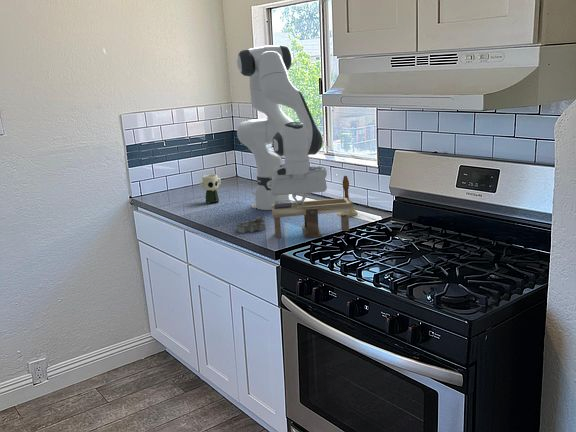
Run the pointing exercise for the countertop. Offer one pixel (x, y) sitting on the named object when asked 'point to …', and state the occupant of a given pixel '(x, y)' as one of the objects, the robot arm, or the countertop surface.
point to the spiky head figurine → (210, 187)
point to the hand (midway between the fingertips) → (299, 205)
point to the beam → (321, 205)
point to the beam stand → (312, 224)
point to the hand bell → (346, 187)
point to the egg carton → (251, 225)
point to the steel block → (282, 204)
